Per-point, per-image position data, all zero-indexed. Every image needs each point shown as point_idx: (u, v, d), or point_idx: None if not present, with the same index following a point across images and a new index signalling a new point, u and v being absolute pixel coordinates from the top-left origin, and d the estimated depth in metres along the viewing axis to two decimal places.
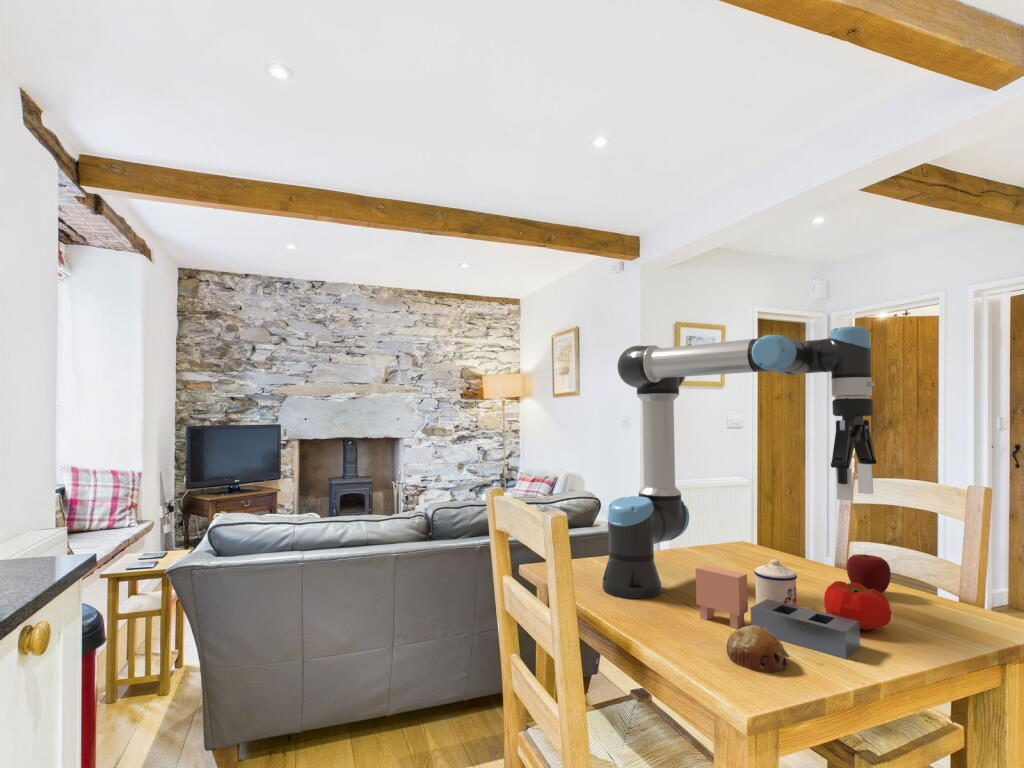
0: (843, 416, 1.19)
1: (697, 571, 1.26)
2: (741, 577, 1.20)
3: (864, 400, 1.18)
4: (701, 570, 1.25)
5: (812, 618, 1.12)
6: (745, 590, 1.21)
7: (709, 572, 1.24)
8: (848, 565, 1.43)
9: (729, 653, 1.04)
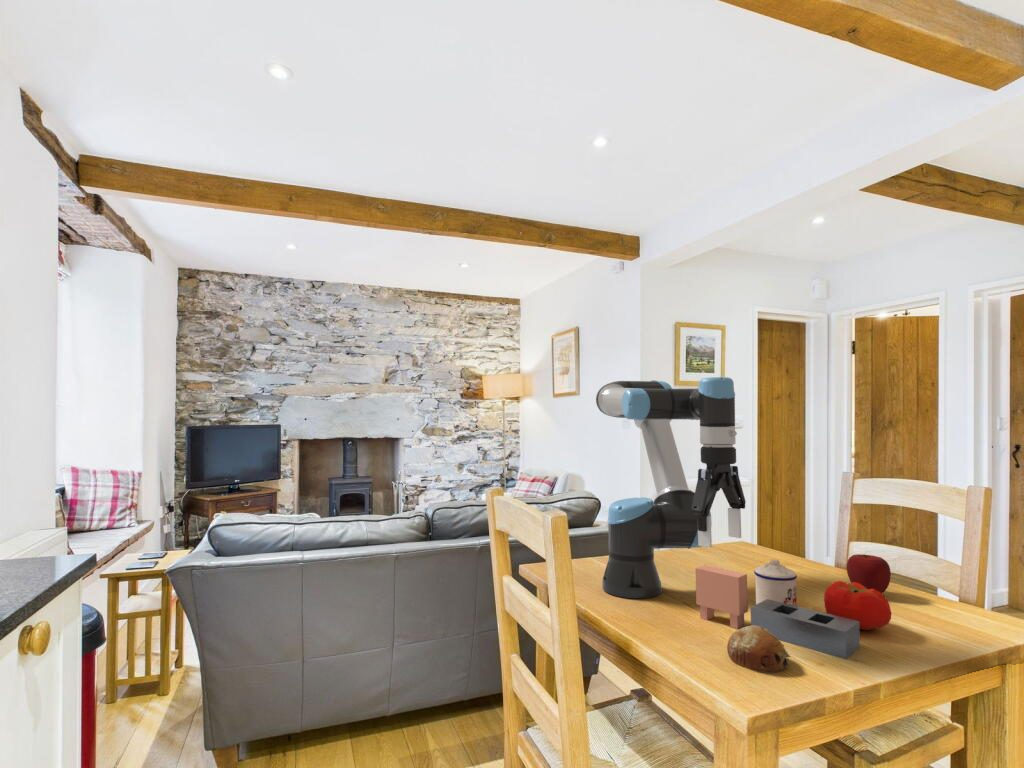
0: (707, 464, 1.23)
1: (697, 571, 1.26)
2: (741, 577, 1.20)
3: (725, 449, 1.22)
4: (701, 570, 1.25)
5: (812, 618, 1.12)
6: (745, 590, 1.21)
7: (709, 572, 1.24)
8: (848, 565, 1.43)
9: (730, 653, 1.04)
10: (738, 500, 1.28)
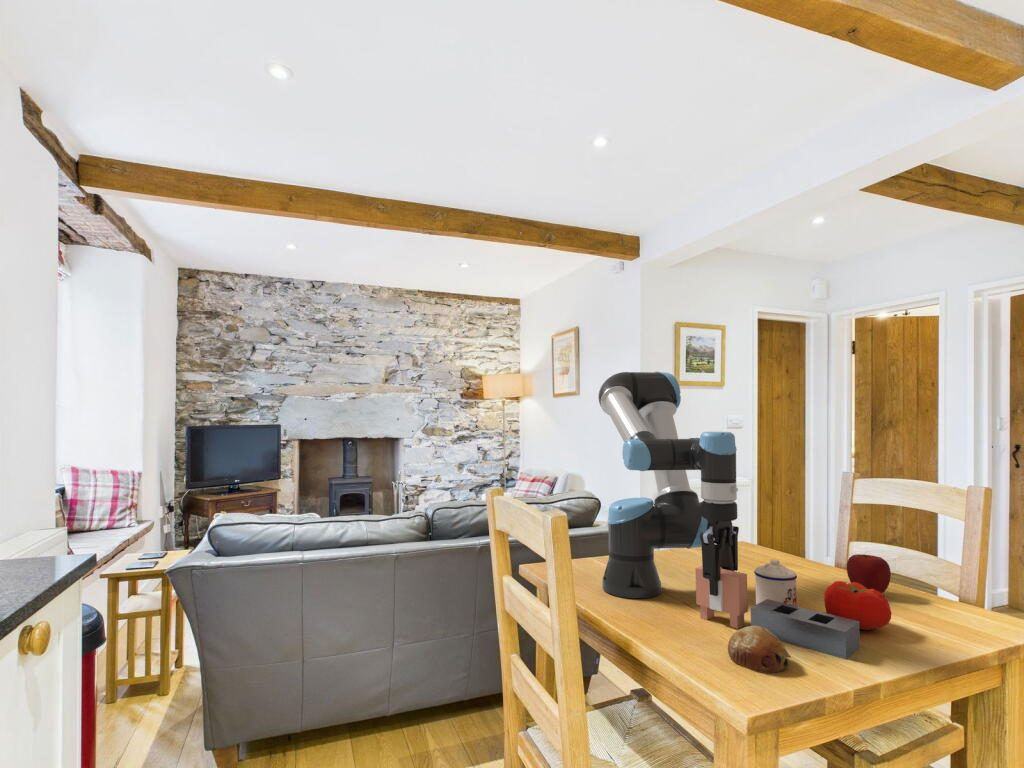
0: (708, 520, 1.23)
1: (697, 571, 1.26)
2: (741, 577, 1.20)
3: (727, 506, 1.21)
4: (701, 570, 1.25)
5: (812, 618, 1.12)
6: (745, 590, 1.21)
7: None
8: (848, 565, 1.43)
9: (730, 653, 1.04)
10: (732, 565, 1.25)
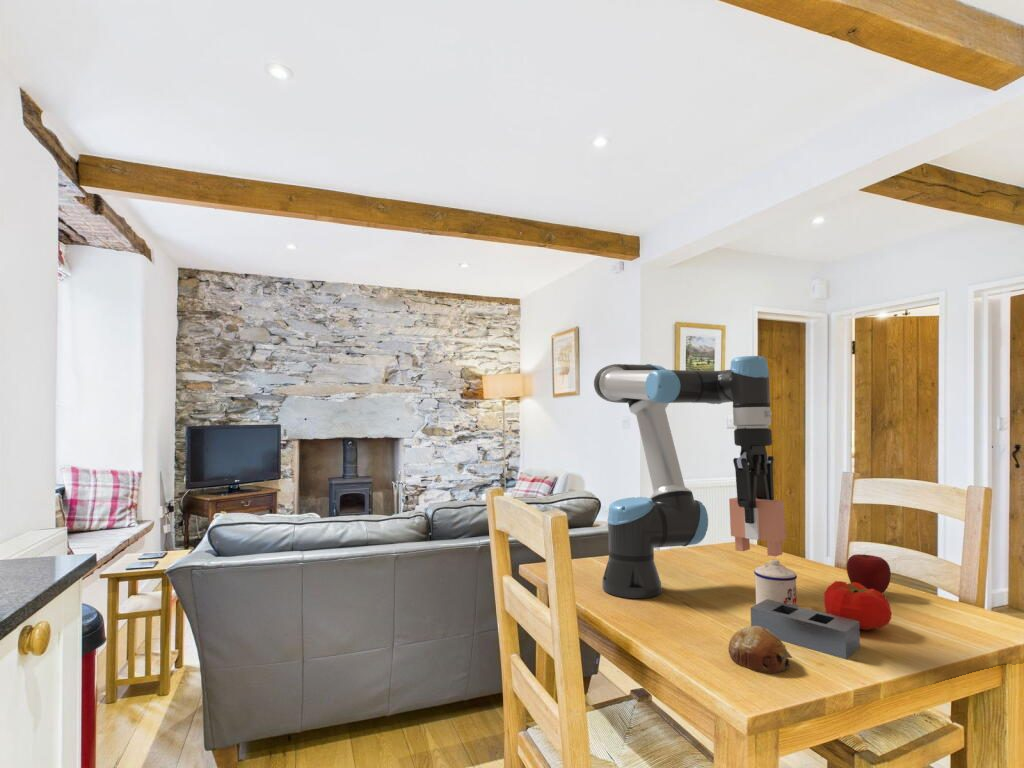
0: (741, 446, 1.19)
1: (731, 501, 1.22)
2: (778, 503, 1.15)
3: (761, 430, 1.17)
4: (735, 500, 1.21)
5: (812, 618, 1.12)
6: (782, 517, 1.16)
7: None
8: (848, 565, 1.43)
9: (731, 654, 1.03)
10: (767, 494, 1.21)
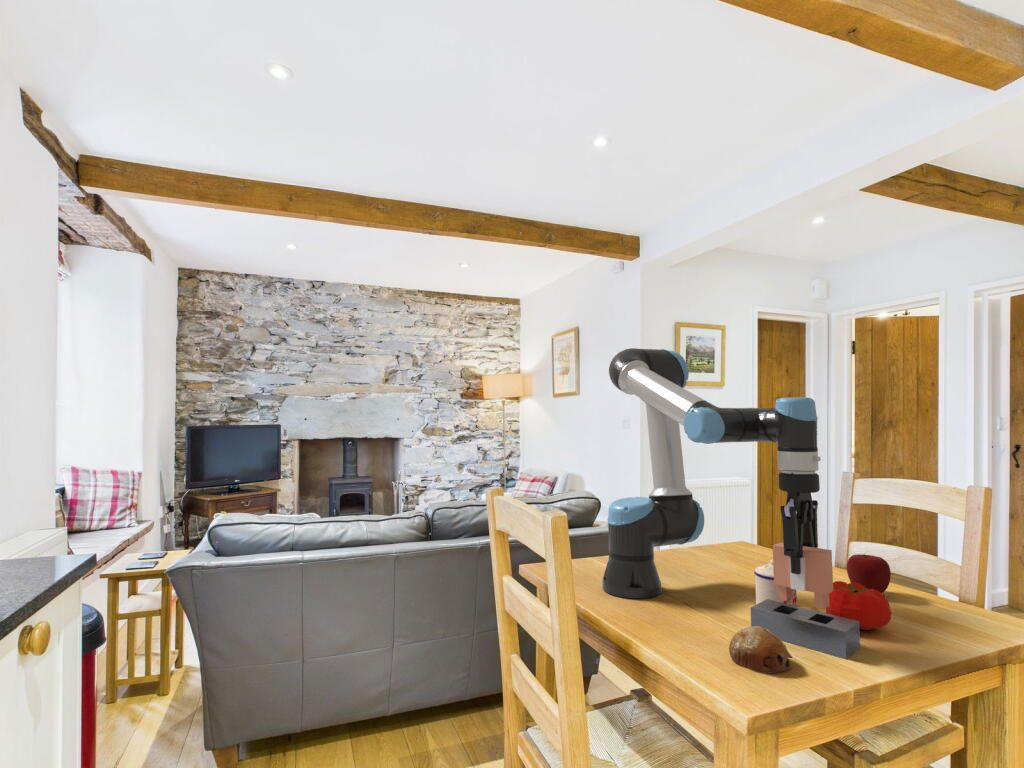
0: (788, 492, 1.13)
1: (774, 548, 1.16)
2: (826, 553, 1.10)
3: (809, 476, 1.12)
4: (779, 547, 1.16)
5: (812, 618, 1.12)
6: (830, 567, 1.11)
7: None
8: (848, 565, 1.43)
9: (732, 654, 1.03)
10: (812, 541, 1.16)
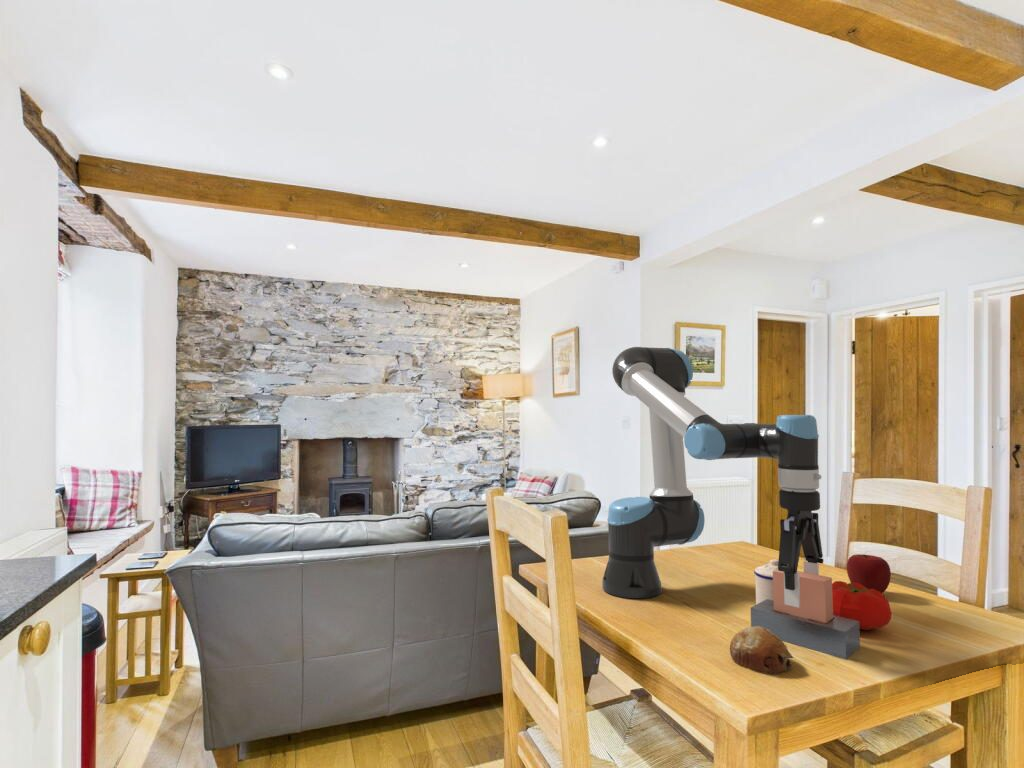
0: (788, 510, 1.13)
1: (775, 574, 1.16)
2: (827, 581, 1.10)
3: (810, 494, 1.12)
4: (779, 573, 1.16)
5: None
6: (830, 595, 1.11)
7: None
8: (848, 565, 1.43)
9: (732, 654, 1.03)
10: (816, 553, 1.17)
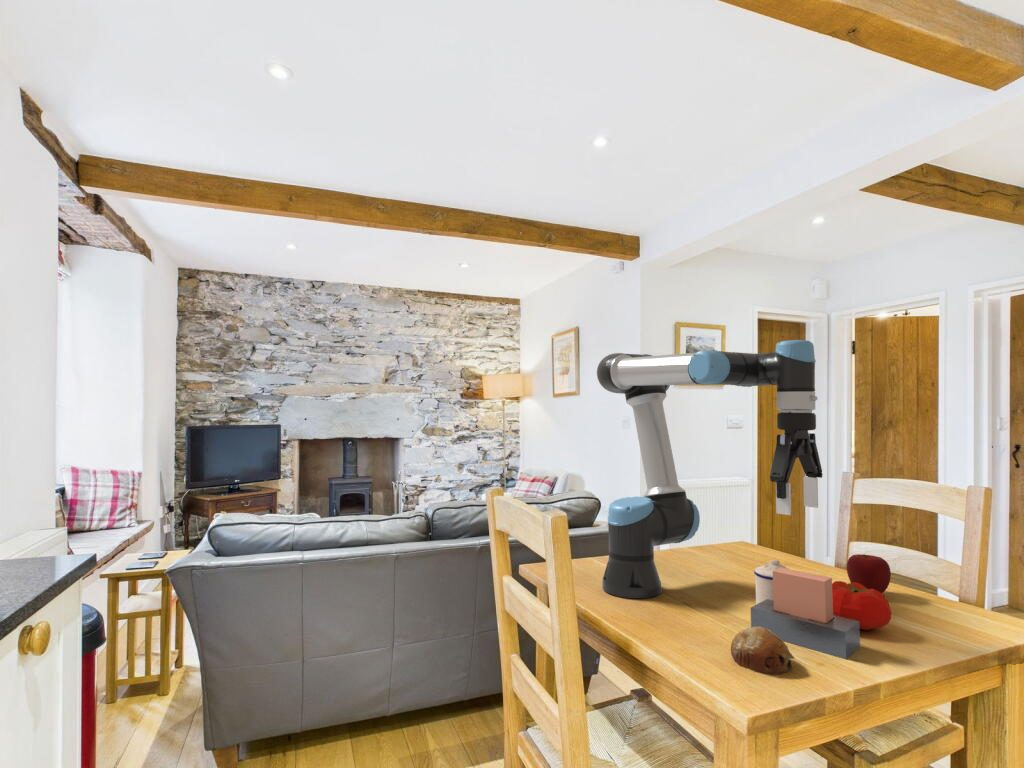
0: (785, 430, 1.19)
1: (775, 574, 1.16)
2: (827, 581, 1.10)
3: (806, 414, 1.17)
4: (779, 573, 1.16)
5: None
6: (830, 595, 1.11)
7: (789, 575, 1.14)
8: (848, 565, 1.43)
9: (733, 655, 1.03)
10: (815, 469, 1.24)
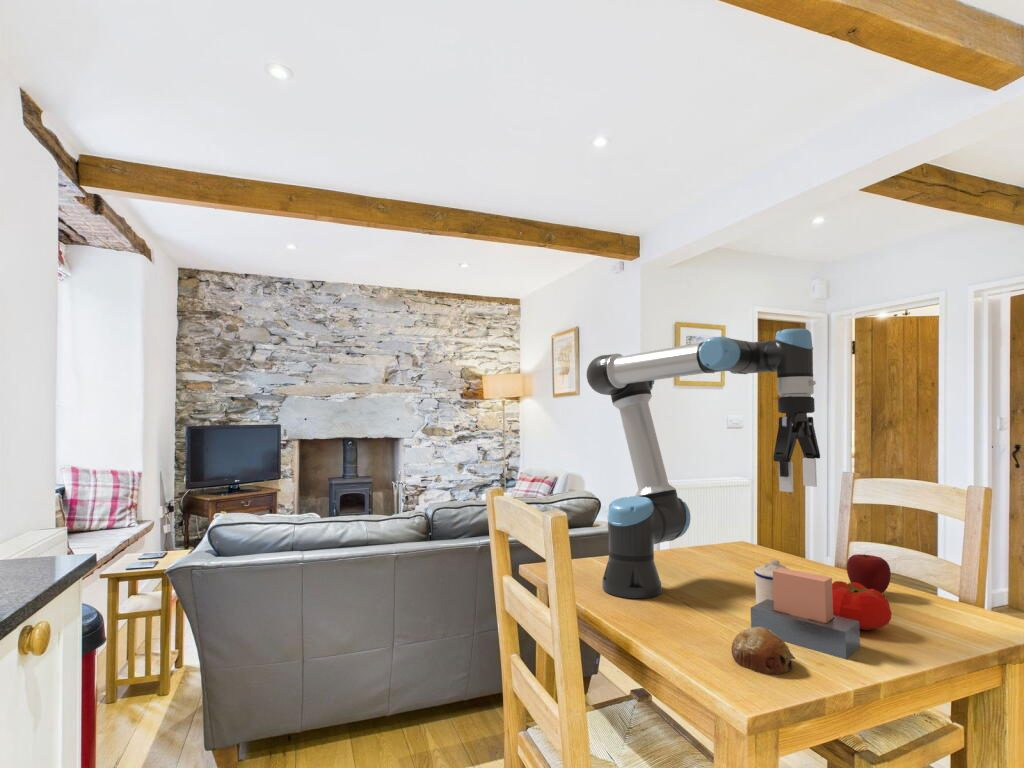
0: (786, 413, 1.27)
1: (775, 574, 1.16)
2: (827, 581, 1.10)
3: (805, 398, 1.25)
4: (779, 573, 1.16)
5: None
6: (830, 595, 1.11)
7: (789, 575, 1.14)
8: (848, 565, 1.43)
9: (734, 655, 1.03)
10: (813, 450, 1.32)
